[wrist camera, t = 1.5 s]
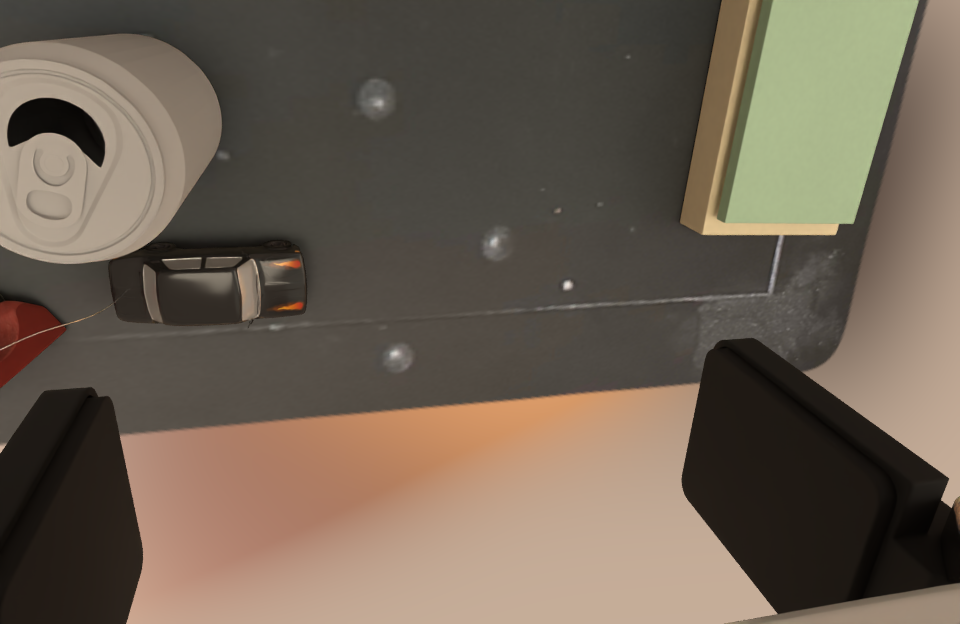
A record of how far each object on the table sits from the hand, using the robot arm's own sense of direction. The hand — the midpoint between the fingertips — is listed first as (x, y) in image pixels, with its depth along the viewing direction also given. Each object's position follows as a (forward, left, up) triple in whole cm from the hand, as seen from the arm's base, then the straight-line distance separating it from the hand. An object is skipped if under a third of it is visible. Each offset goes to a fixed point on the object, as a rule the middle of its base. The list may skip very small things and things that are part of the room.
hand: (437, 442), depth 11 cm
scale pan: (-4, +22, -21) cm, 31 cm away
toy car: (+6, -8, -24) cm, 26 cm away
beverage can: (-2, -9, -24) cm, 26 cm away
